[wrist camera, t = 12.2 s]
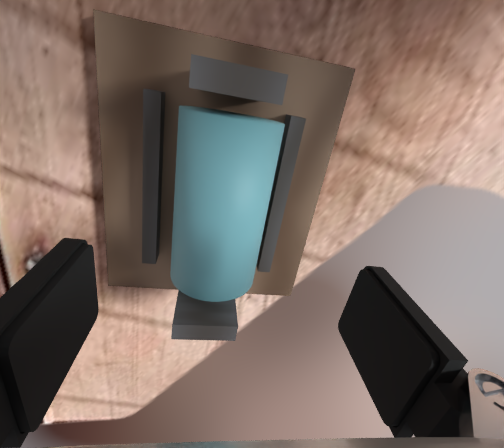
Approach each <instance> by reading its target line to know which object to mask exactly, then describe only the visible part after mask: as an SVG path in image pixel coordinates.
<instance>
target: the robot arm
mask: <svg viewBox="0 0 504 448" xmlns="http://www.w3.org/2000/svg"><path fill="white" fill-rule="evenodd" d="M97 315H98V299H97V287H96V276H95V264H94V252H93V247H92V245H88V244H87V241H86V240H82V239H71V238H64V239H62V240H61V241H60V242H59V243H58V244H57V245H56V246H55V247H54V248H53V249H52V250H51V251H50V252H49V253H48V254H46V255H45V256H44V257H43V258H42V259H41V260H40V261H39V262H38V263H37V264H36V265H35V266H34V267H33V268H32V269H31V270H30V271H29V272H28V273H27V274H26V275H25V276H23V277H22V278H21V279H20V280H19V281H18V282H16V283H15V284H14V285H13V286H12V287H11V288H10V289H9V290H8V291H7V292H6V293H5V294H4V295H3V296H2V297H1V298H0V448H20V447H21V445H22V443H23V442H24V440H25V438H26V436H27V435H28V433H29V432H34V431H35V430H36V429H37V428H38V427H39V425H40V423H41V422H42V420H43V418H44V416H45V414H46V412H47V410H48V409H49V407H50V405H51V403H52V401H53V399H54V397H55V395H56V394H57V392H58V390H59V388H60V386H61V384H62V382H63V381H64V379H65V377H66V375H67V373H68V371H69V369H70V368H71V366H72V364H73V362H74V360H75V358H76V356H77V354H78V353H79V351H80V349H81V347H82V345H83V343H84V341H85V340H86V338H87V336H88V334H89V332H90V330H91V328H92V326H93V325H94V323H95V321H96V319H97ZM338 328H339V332H340V334H341V336H342V338H343V340H344V342H345V344H346V346H347V348H348V350H349V353H350V355H351V357H352V359H353V361H354V363H355V365H356V367H357V369H358V371H359V373H360V375H361V377H362V379H363V381H364V383H365V385H366V387H367V390H368V392H369V394H370V396H371V398H372V400H373V402H374V404H375V406H376V408H377V410H378V412H379V414H380V416H381V418H382V420H383V422H384V423H385V424H386V425H387V426H389V427H390V429H391V432H392V434H393V435H394V438H349V439H302V440H261V441H260V440H259V441H221V442H220V441H218V442H183V443H149V444H115V445H87V446H67V447H46V448H504V379H503V378H502V377H500V376H498V375H496V374H494V373H492V372H490V371H487V370H484V369H479V368H478V369H472V370H471V371H469V372H468V374H467V373H466V371H465V370H464V369H463V367H464V366H465V364H466V363H467V361H468V360H467V359H466V358H465V357H464V356H463V354H462V353H461V352H460V351H459V350H458V349H457V348H456V347H455V346H454V345H453V344H452V342H451V341H450V340H449V339H448V338H447V337H446V336H445V335H444V334H443V333H442V332H441V330H440V329H439V328H438V327H437V326H436V325H435V324H434V323H433V321H432V320H431V319H430V318H429V317H428V316H427V315H426V314H425V313H424V312H423V310H422V309H421V308H420V307H419V306H418V305H417V304H416V303H415V302H414V301H413V300H412V298H411V297H410V296H409V295H408V294H407V293H406V292H405V291H404V290H403V289H402V287H401V286H400V285H399V284H398V283H397V282H396V281H395V280H394V279H393V278H392V276H391V275H390V274H389V273H388V272H387V271H386V270H385V269H384V268H382V267H374V266H366V267H365V268H364V269H363V270H361V271H360V272H359V274H358V277H357V279H356V281H355V284H354V286H353V289H352V291H351V294H350V296H349V298H348V301H347V303H346V306H345V308H344V310H343V313H342V315H341V318H340V320H339V323H338ZM413 434H414V436H415V437H412V436H413Z"/></svg>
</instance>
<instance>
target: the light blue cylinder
mask: <svg viewBox="0 0 504 448" xmlns="http://www.w3.org/2000/svg"><path fill="white" fill-rule="evenodd" d="M284 127H285V124H283V123H281V122H277V121H273V120H269V119H265V118H260V117H256V116H251V115H246V114H240V113H235V112H229V111H223V110H217V109H210V108H203V107H195V106H179V115H178V134H177V154H176V173H175V193H174V212H173V232H172V251H171V271H170V277H171V281H172V282H173V284H174V286H175V287H176V288H177V289H178V290H179V291H181V292H182V293H184V294H186V295H187V296H190V297H192V298H195V299H198V300H203V301H210V302H221V301H229V300H232V299H236V298H238V297H240V296H242V295H244V294H245V293H246V292H247V291H248V290H249V289H250V288H251V286H252V284H253V279H254V274H255V269H256V264H257V260H258V255H259V250H260V245H261V240H262V235H263V230H264V225H265V220H266V215H267V210H268V206H269V201H270V196H271V191H272V186H273V181H274V176H275V171H276V166H277V161H278V157H279V152H280V147H281V142H282V137H283V132H284Z"/></svg>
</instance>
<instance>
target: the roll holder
mask: <svg viewBox="0 0 504 448" xmlns="http://www.w3.org/2000/svg"><path fill="white" fill-rule="evenodd" d="M93 14H94V32H95V51H96V69H97V88H98V106H99V125H100V143H101V162H102V180H103V198H104V217H105V235H106V254H107V272H108V286H125V287H142V288H160V289H177V288H176V287H175V286H174V284H173V282H172V281H171V277H170V271H171V251H172V232H173V212H174V193H175V173H176V154H177V134H178V115H179V106H195V107H203V108H210V109H217V110H223V111H229V112H235V113H240V114H246V115H251V116H256V117H260V118H265V119H269V120H273V121H277V122H281V123H283V124H285V127H284V132H283V137H282V142H281V147H280V152H279V157H278V161H277V166H276V171H275V176H274V181H273V186H272V191H271V196H270V201H269V206H268V210H267V215H266V220H265V225H264V230H263V235H262V240H261V245H260V250H259V255H258V260H257V264H256V269H255V274H254V279H253V284H252V286H251V288H250V289H249V290H248V291H247V292H246V293H247V294H265V295H283V296H290V295H291V292H292V288H293V285H294V281H295V278H296V274H297V271H298V267H299V264H300V260H301V257H302V253H303V250H304V246H305V243H306V239H307V236H308V232H309V229H310V225H311V222H312V218H313V215H314V211H315V208H316V204H317V201H318V197H319V194H320V191H321V187H322V184H323V180H324V177H325V173H326V170H327V166H328V163H329V159H330V156H331V152H332V149H333V145H334V142H335V138H336V135H337V131H338V128H339V124H340V121H341V117H342V114H343V110H344V107H345V103H346V100H347V96H348V93H349V89H350V86H351V82H352V79H353V75H354V72H355V69H354V68H350V67H345V66H341V65H336V64H332V63H328V62H323V61H319V60H314V59H310V58H306V57H301V56H297V55H292V54H288V53H283V52H279V51H275V50H270V49H266V48H261V47H257V46H253V45H248V44H244V43H239V42H235V41H231V40H226V39H222V38H217V37H213V36H208V35H204V34H200V33H195V32H191V31H186V30H182V29H178V28H173V27H169V26H164V25H160V24H156V23H151V22H147V21H142V20H138V19H133V18H129V17H125V16H120V15H116V14H111V13H107V12H103V11H98V10H94V9H93ZM177 290H178V289H177ZM237 329H238V323H237V313H236V303H235V299H232V300H229V301H221V302H210V301H203V300H198V299H195V298H192V297H190V296H187V295H186V294H184V293H182V292H181V291H178V297H177V302H176V308H175V313H174V319H173V324H172V339H188V340H228V341H235V339H236V334H237Z"/></svg>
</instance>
